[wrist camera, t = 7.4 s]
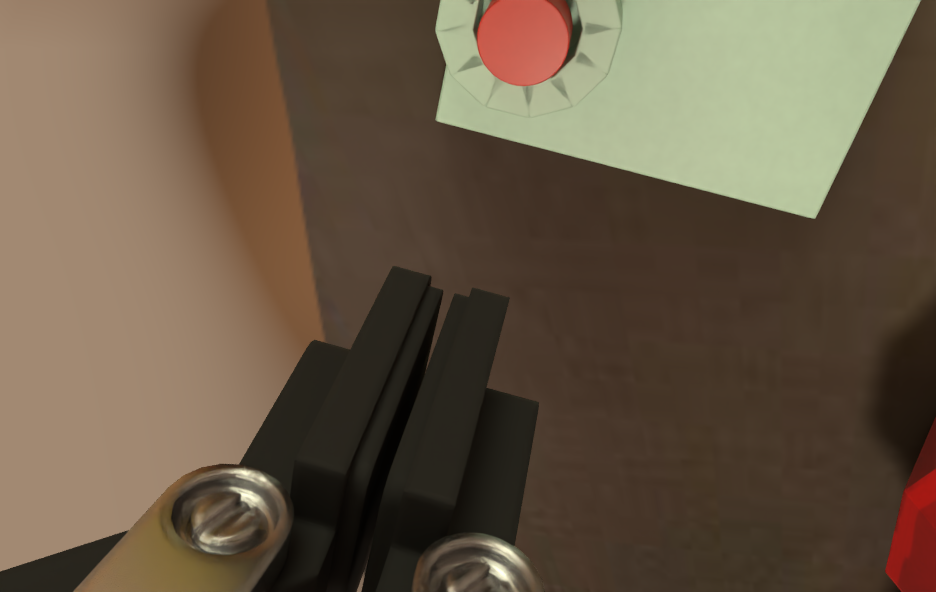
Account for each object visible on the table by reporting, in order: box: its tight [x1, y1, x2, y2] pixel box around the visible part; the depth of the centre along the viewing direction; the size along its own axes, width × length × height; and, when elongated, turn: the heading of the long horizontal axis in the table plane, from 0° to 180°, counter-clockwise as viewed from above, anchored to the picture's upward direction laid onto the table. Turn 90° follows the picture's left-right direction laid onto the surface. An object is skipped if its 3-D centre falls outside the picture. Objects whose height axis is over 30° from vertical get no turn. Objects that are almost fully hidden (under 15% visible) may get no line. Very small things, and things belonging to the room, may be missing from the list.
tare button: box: [477, 0, 573, 86], centre depth 27 cm, size 3×3×2 cm
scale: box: [435, 0, 921, 219], centre depth 29 cm, size 14×9×3 cm, turn 78°
